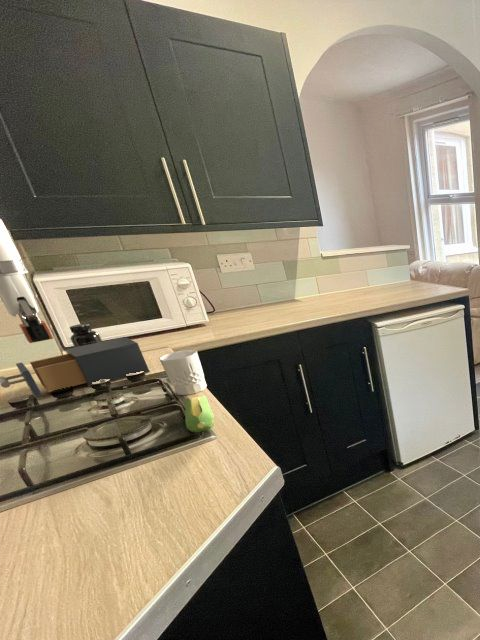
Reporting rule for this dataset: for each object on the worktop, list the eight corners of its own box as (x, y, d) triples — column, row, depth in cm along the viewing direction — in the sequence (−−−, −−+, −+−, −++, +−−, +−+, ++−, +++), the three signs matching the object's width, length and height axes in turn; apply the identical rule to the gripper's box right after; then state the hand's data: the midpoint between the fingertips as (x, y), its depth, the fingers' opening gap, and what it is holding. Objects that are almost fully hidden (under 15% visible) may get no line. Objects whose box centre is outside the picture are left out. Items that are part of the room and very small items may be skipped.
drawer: (12, 404, 106) (-4, 377, 103) (6, 394, 112) (-9, 368, 109) (99, 381, 118) (87, 357, 115) (89, 373, 125) (78, 350, 122)
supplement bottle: (114, 355, 143) (98, 321, 138) (103, 361, 137) (86, 326, 132) (89, 358, 141) (72, 323, 136) (77, 365, 135) (59, 329, 130)
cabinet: (90, 387, 117) (75, 356, 113) (79, 378, 124) (65, 349, 120) (149, 371, 127) (137, 342, 123) (137, 363, 134) (125, 336, 130)
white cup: (188, 384, 116) (175, 350, 112) (216, 383, 115) (203, 349, 111) (166, 396, 108) (151, 360, 104) (195, 396, 108) (181, 359, 104)
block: (30, 343, 108) (21, 326, 107) (27, 340, 111) (18, 324, 109) (53, 338, 112) (45, 322, 110) (50, 336, 114) (42, 320, 112)
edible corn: (190, 440, 87) (182, 421, 85) (185, 408, 102) (178, 391, 100) (219, 432, 90) (212, 413, 88) (210, 401, 104) (204, 385, 103)
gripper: (-23, 269, 106) (15, 338, 113) (-17, 273, 96) (24, 348, 104) (20, 264, 111) (53, 331, 119) (30, 268, 102) (66, 340, 109)
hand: (39, 338), depth 111 cm, fingers closed on block, 4 cm apart
